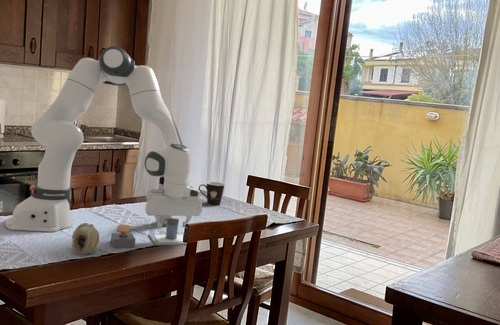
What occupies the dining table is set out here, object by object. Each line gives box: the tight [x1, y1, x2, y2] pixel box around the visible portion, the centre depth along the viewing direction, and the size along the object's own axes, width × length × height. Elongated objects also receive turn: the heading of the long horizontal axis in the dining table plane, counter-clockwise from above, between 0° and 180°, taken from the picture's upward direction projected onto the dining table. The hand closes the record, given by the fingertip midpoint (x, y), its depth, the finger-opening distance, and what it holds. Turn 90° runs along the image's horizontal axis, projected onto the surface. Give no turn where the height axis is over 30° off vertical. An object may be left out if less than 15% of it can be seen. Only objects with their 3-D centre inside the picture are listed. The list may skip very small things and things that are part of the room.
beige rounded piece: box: [71, 222, 100, 256], centre depth 167 cm, size 9×8×10 cm
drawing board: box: [148, 233, 186, 246], centre depth 190 cm, size 14×11×1 cm
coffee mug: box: [198, 181, 225, 206], centre depth 253 cm, size 12×9×10 cm
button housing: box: [110, 232, 136, 249], centre depth 179 cm, size 7×7×3 cm
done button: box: [116, 224, 132, 237], centre depth 178 cm, size 4×4×5 cm
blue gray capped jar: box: [165, 217, 180, 240], centre depth 189 cm, size 4×4×7 cm
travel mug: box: [155, 176, 173, 227], centre depth 207 cm, size 6×7×20 cm
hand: (172, 227), depth 189 cm, fingers open, 8 cm apart
